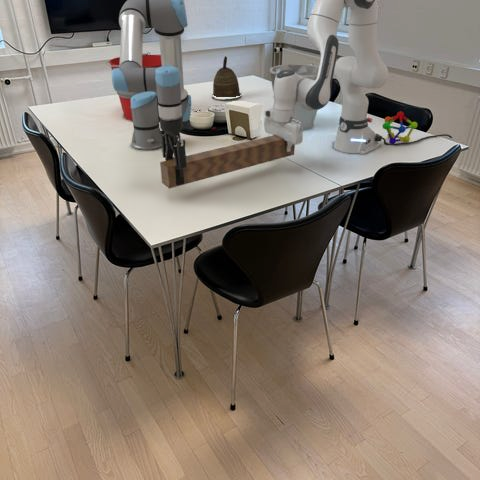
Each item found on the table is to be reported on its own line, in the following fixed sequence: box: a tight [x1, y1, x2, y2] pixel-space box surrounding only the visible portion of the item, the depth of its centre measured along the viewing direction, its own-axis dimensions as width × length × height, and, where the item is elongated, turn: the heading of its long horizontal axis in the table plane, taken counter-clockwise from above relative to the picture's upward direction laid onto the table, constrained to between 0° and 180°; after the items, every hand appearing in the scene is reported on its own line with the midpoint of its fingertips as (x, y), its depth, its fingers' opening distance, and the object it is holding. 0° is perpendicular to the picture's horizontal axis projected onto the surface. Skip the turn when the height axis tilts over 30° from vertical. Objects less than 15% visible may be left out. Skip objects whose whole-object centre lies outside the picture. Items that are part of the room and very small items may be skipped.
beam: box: [159, 135, 296, 189], centre depth 168 cm, size 57×6×8 cm, turn 125°
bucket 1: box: [105, 52, 162, 122], centre depth 239 cm, size 35×35×30 cm
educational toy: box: [382, 110, 418, 144], centre depth 207 cm, size 16×13×15 cm
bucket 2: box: [269, 63, 319, 131], centre depth 226 cm, size 30×30×28 cm
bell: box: [212, 56, 242, 97], centre depth 278 cm, size 19×26×20 cm
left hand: (176, 181), depth 158 cm, fingers closed on beam, 6 cm apart
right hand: (282, 148), depth 181 cm, fingers closed on beam, 5 cm apart
